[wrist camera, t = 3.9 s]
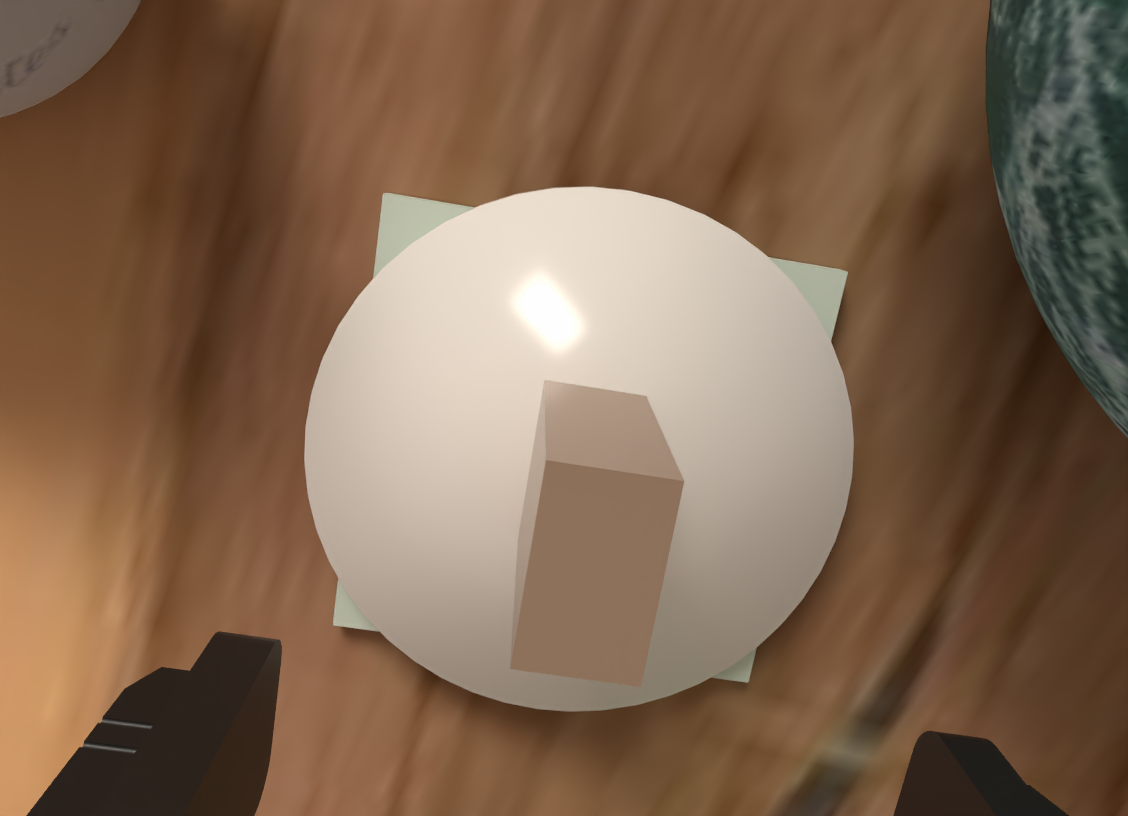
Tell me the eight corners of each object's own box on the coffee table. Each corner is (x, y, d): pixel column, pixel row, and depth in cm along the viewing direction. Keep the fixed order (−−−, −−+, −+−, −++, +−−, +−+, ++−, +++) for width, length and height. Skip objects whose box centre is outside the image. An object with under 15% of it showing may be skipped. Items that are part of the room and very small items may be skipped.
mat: (839, 269, 23) (847, 272, 22) (743, 671, 26) (748, 682, 25) (387, 192, 22) (382, 193, 22) (337, 614, 25) (333, 625, 24)
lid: (898, 236, 22) (1056, 271, 15) (776, 720, 25) (862, 924, 19) (344, 141, 21) (253, 133, 15) (290, 654, 25) (195, 842, 18)
